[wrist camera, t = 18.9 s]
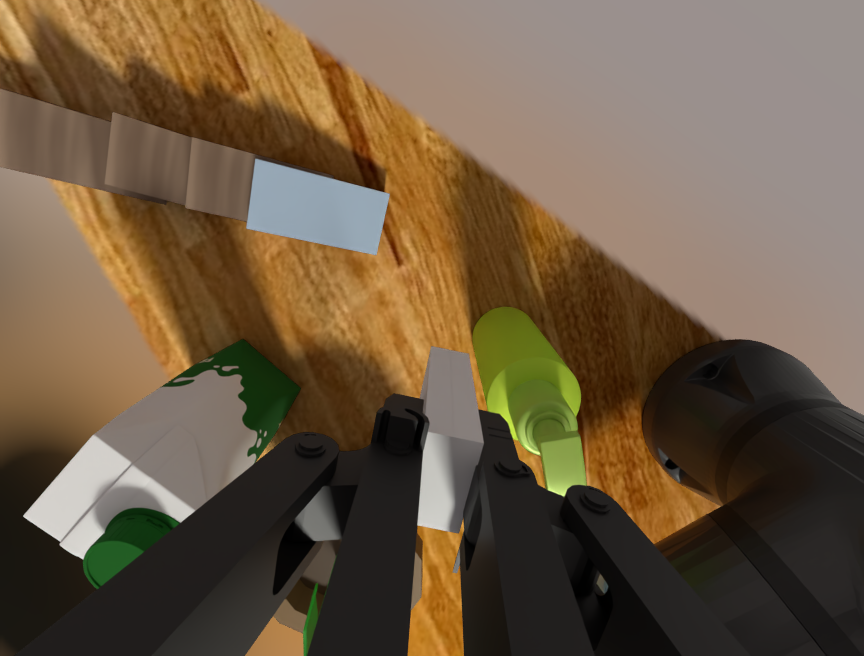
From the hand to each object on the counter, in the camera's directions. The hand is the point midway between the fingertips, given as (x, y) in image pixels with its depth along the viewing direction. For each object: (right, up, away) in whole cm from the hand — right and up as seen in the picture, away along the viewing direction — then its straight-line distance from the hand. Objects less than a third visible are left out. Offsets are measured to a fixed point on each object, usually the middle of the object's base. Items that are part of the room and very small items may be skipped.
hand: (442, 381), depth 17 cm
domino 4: (-5, +11, +19) cm, 22 cm away
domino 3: (-9, +12, +19) cm, 24 cm away
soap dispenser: (+6, +1, +23) cm, 24 cm away
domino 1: (-22, +15, +18) cm, 32 cm away
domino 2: (-15, +13, +18) cm, 27 cm away
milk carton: (-18, -3, +25) cm, 31 cm away
